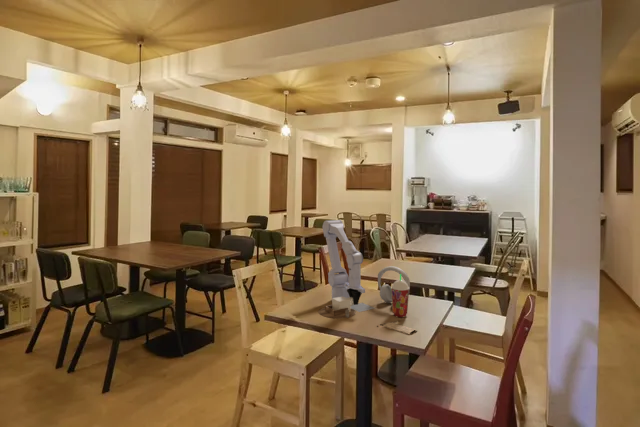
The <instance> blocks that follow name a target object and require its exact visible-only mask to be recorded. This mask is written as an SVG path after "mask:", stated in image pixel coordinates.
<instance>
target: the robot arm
mask: <svg viewBox="0 0 640 427" xmlns="http://www.w3.org/2000/svg"><path fill="white" fill-rule="evenodd" d="M322 232H323V237H324V238H325V240H326V246H327V251H328V255H329V260H330V262H329V263H330V266H331V269H330V270H329V271H328V273H327V276H328V279H327V280H328V285H330V287H331V299H332V298H337V297H342V296H343V297H346V298H349V297H352V298H353V303H354V305H357V304H358V303H359V302H360V298H361V296H362V294H365V293H366V288H364V287H363V286H362V285H361V281H362V280H361V276H362V275H361V271H362V270H361V269H362V268H361V266H362V264H363V262H364V256H363V253H361V252H360V251H359V250H357V249H356V247H355V245H354V243H353V242H352V241H351V240H349V238H348V237H347V235H346V232H345V230H344V222H343V221H342V219H337V220H335V219H334V220H324V221H323V223H322ZM337 238H338V239H339V241H340V242H341V244H342V245H341V249H342V250H343V253H344V254H345V256H346V262H347V268H348V273H347V270H346V269H345V268H344V267H343V266H342V263H341V258H340V254H339V249H338V243H337V240H336V239H337Z"/></svg>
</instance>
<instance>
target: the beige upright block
mask: <svg viewBox="0 0 640 427" xmlns="http://www.w3.org/2000/svg"><path fill="white" fill-rule="evenodd" d="M331 303H332V304H331V305H332V309H333V310H340V309H344V308H348V310H349V312H351V309H352V308H351V306H352V305H354V303H353V298H352V297H349V298H346V297H343V296H342V297H337V298H332V297H331Z"/></svg>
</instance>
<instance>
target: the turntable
mask: <svg viewBox="0 0 640 427" xmlns="http://www.w3.org/2000/svg"><path fill="white" fill-rule="evenodd" d="M356 312H357V311H356V310H354V309H352V308H351V312H349V310H348V308H344V309H340V310H333V309H332V304H329V305H325V306H324V307H322V308H321V309H318V314H319V315H320V317H321V316H322V317H323V318H327V319H328V318H329V319H335V320H336V319H337V320H338V319H348V318H351V317H353V316H355V315H356Z"/></svg>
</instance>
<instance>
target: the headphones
mask: <svg viewBox="0 0 640 427" xmlns="http://www.w3.org/2000/svg"><path fill="white" fill-rule="evenodd" d="M388 271H394V272H396V273H398V274H399V275H400V274H401V278H403V279H402V280H403V281H405V282H406V283H407V284H408V287H409V290H410V287H411V284H410V280H411V279H410V277H409V275H408V273H406V271H405V270H403V269H402V268H400V267H398V266H393V265H390V266H386V267H383V268H382V269H381V270H380V271H379V272H378V274H377V286H378V287H379V288H378V289H379V296H380V299H381V300H383V302H385V303H386V304H390V303H392V286H390V285H389V284H387V283H385V284H382V286H381V281H382V280H381V279H382V276H383V275H384V274H385V273H386V272H388Z"/></svg>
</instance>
